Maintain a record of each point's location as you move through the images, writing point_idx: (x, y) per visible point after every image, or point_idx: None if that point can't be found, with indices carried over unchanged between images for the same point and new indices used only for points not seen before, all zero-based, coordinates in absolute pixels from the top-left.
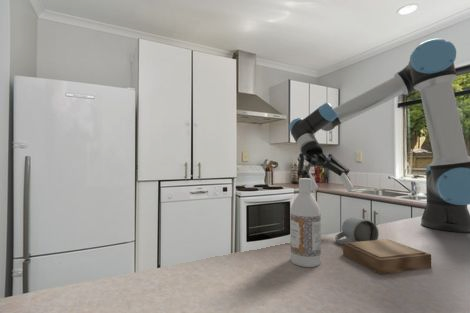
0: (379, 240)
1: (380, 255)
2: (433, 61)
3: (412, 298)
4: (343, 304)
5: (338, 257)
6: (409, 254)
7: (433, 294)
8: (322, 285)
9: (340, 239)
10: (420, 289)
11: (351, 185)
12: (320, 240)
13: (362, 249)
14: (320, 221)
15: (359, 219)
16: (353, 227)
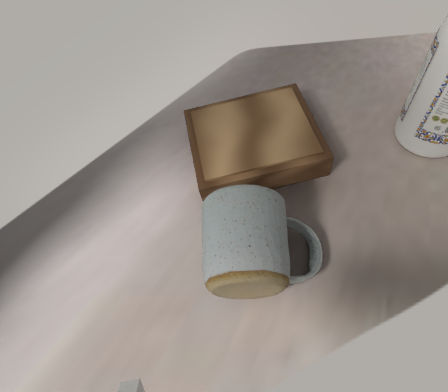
0: (233, 168)
1: (286, 93)
2: None
3: (288, 57)
4: (380, 42)
5: (345, 161)
6: (226, 103)
7: (255, 66)
8: (400, 70)
9: (314, 233)
10: (263, 74)
11: (132, 389)
12: (412, 86)
13: (306, 117)
14: (430, 47)
15: (250, 202)
16: (280, 197)
